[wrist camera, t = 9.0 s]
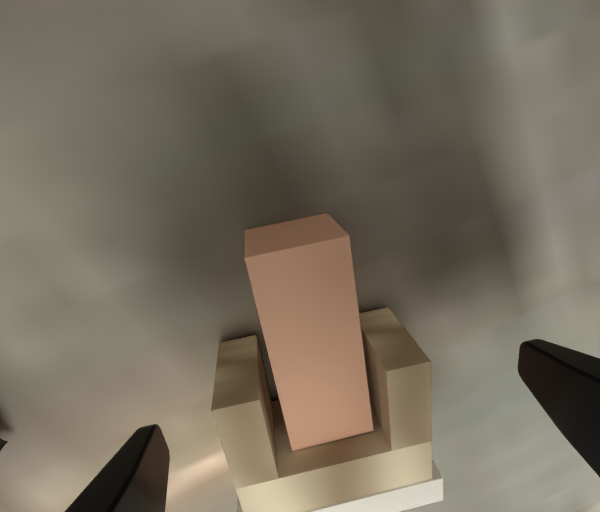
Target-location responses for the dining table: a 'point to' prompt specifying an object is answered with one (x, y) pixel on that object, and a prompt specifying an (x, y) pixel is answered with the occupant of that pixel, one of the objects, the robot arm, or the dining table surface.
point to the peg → (311, 327)
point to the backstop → (390, 498)
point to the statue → (2, 443)
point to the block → (336, 454)
